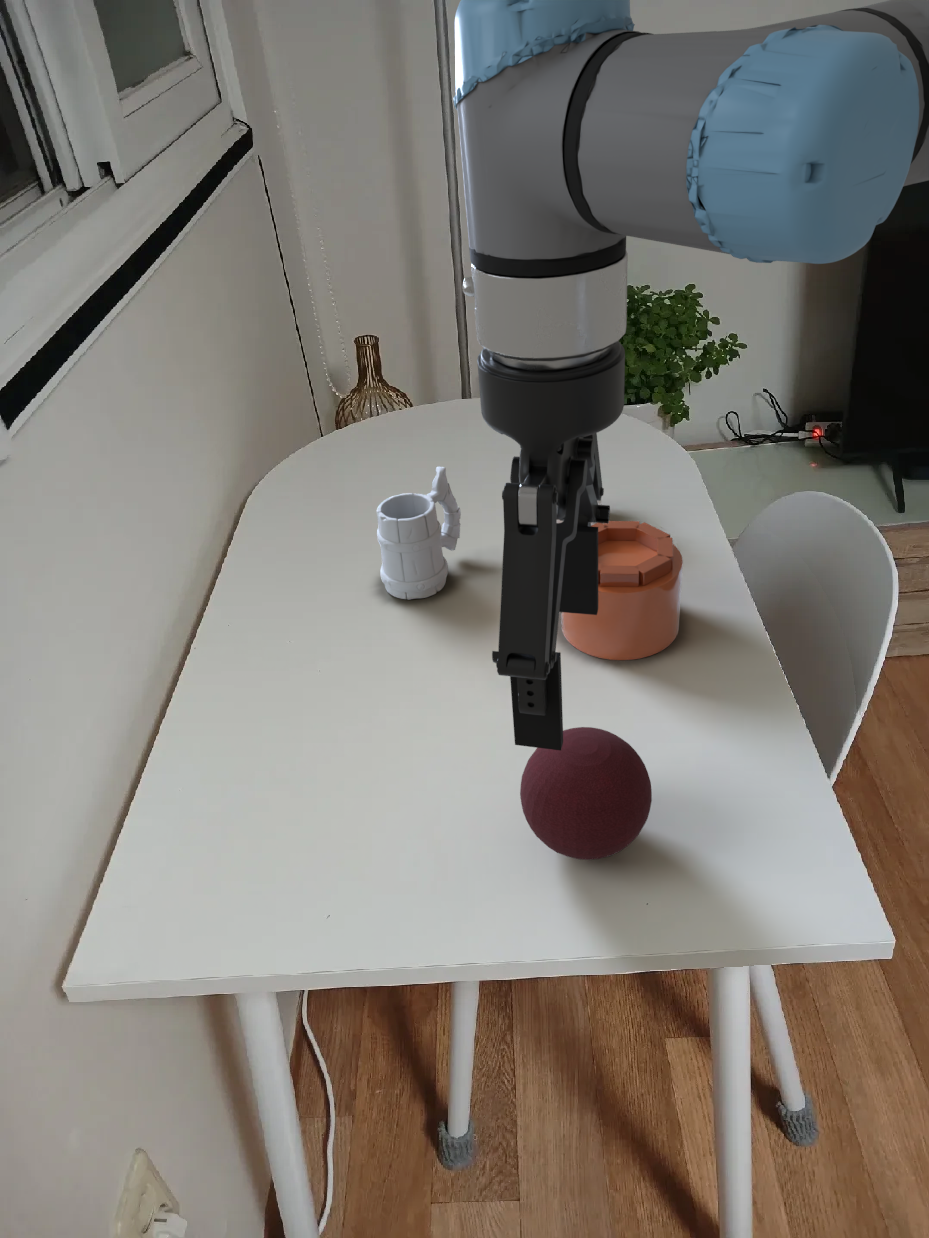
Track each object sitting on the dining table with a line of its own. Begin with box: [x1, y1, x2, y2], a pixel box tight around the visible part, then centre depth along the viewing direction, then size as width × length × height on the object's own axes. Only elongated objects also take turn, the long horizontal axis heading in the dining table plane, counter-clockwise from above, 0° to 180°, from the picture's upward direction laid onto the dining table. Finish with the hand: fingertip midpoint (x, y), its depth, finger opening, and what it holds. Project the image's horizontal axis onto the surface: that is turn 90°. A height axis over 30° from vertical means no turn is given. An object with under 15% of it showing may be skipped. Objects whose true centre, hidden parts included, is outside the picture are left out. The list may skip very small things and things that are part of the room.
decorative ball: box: [519, 726, 653, 861], centre depth 73 cm, size 10×10×10 cm
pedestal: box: [560, 520, 684, 661], centre depth 96 cm, size 12×12×10 cm
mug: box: [376, 465, 462, 600], centre depth 106 cm, size 8×12×12 cm, turn 140°
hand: (560, 671), depth 61 cm, fingers open, 13 cm apart
